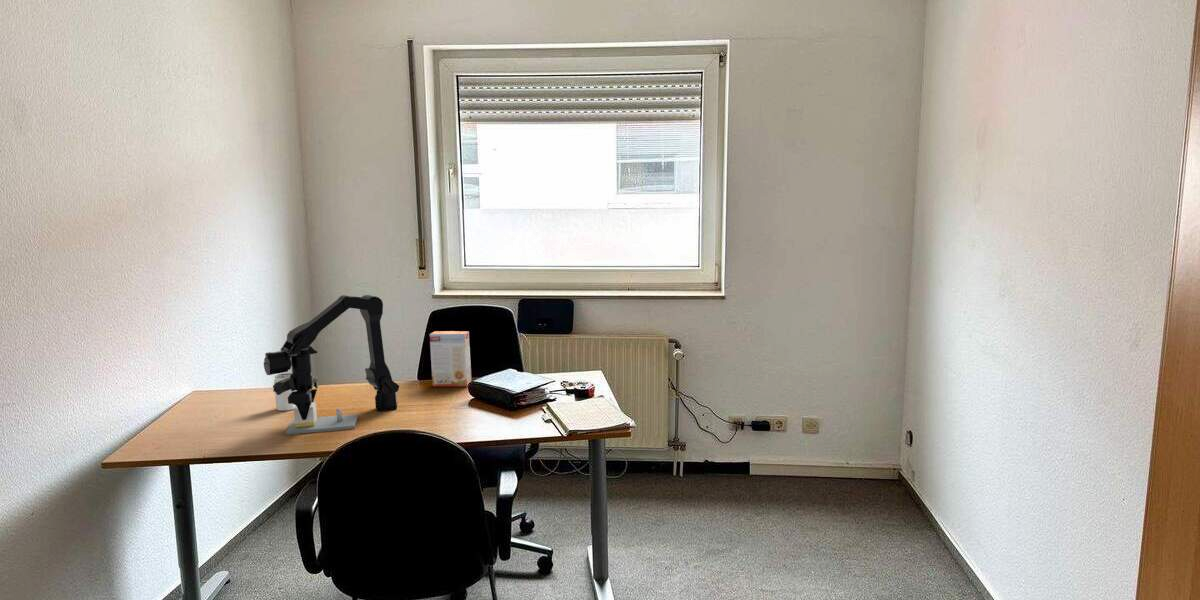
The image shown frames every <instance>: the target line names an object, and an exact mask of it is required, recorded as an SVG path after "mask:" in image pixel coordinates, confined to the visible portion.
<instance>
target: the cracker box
mask: <svg viewBox="0 0 1200 600" xmlns="http://www.w3.org/2000/svg"><path fill="white" fill-rule="evenodd" d="M470 346H471V345H470V331H466V330H465V331H464V330H463V331H462V330H461V331H459V330H457V331H456V330H455V331H454V330H449V331H448V330H446V331H445V330H444V331H443V330H442V331H441V330H439V331H438V330H435V331H433V332H431V333H429V347H430V348H429V349H430V361H431V363H430V364H431V380H432V386H433V387H461V388H462V387H463V388H465V387H468V386H469V385H470V384H469V383H470V382H471V381H472V367H471V366H472V364H471V347H470ZM468 384H469V385H468Z"/></svg>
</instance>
